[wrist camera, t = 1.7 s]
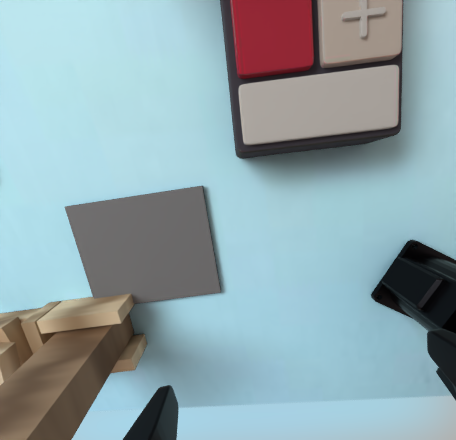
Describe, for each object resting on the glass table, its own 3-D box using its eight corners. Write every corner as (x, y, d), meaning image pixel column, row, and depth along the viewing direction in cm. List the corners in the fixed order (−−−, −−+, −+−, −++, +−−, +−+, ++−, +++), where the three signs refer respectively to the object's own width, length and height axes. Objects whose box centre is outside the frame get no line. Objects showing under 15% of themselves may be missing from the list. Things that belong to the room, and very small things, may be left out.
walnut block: (126, 306, 22) (4, 468, 10) (134, 332, 22) (27, 514, 10) (77, 312, 22) (-101, 479, 10) (86, 338, 22) (-71, 523, 11)
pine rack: (132, 291, 21) (117, 310, 18) (147, 344, 22) (134, 370, 20) (49, 302, 21) (20, 323, 19) (67, 353, 23) (44, 381, 20)
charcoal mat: (202, 185, 19) (201, 186, 18) (220, 290, 21) (220, 292, 21) (67, 206, 19) (64, 206, 19) (99, 306, 22) (97, 308, 21)
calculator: (419, -173, 11) (411, 131, 14) (367, -76, 16) (369, 143, 18) (208, -139, 12) (237, 152, 14) (214, -54, 16) (236, 159, 19)
